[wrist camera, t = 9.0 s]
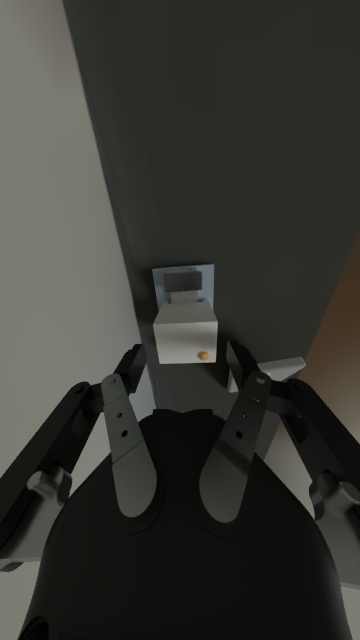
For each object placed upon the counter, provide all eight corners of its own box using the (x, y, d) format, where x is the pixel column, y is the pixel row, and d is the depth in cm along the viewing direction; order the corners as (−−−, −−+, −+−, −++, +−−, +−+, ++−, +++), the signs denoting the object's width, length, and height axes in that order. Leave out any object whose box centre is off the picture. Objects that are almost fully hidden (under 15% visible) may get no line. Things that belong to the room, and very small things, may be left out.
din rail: (165, 269, 18) (162, 272, 15) (199, 267, 17) (202, 269, 15) (175, 352, 24) (174, 363, 21) (201, 351, 23) (202, 363, 21)
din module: (163, 301, 20) (152, 325, 13) (207, 299, 19) (218, 322, 13) (167, 331, 22) (159, 365, 15) (207, 330, 21) (215, 363, 15)
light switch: (230, 397, 28) (235, 384, 16) (222, 368, 31) (221, 341, 20) (274, 391, 27) (313, 373, 15) (261, 362, 30) (284, 328, 19)
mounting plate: (154, 268, 19) (152, 269, 18) (212, 263, 19) (214, 264, 17) (166, 348, 25) (165, 354, 24) (210, 346, 25) (211, 352, 23)
